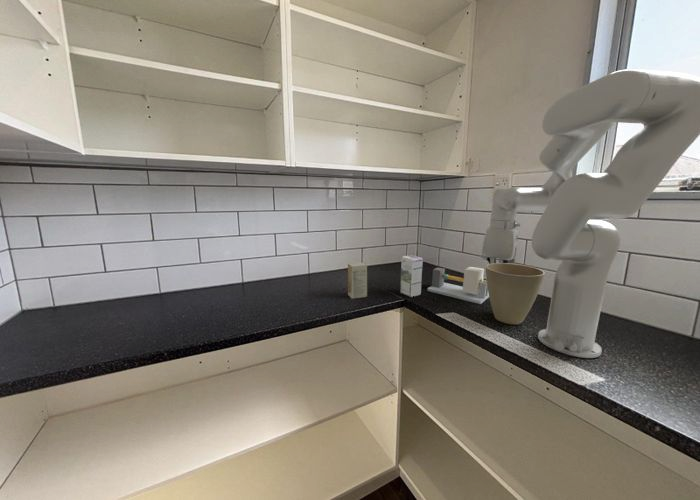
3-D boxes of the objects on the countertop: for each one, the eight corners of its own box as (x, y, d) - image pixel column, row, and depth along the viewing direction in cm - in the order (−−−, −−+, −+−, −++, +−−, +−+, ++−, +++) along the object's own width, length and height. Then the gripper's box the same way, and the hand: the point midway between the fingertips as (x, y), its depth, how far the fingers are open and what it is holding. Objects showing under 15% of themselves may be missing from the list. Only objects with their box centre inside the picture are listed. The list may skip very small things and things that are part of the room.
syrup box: (421, 294, 104) (423, 257, 101) (410, 297, 101) (412, 259, 98) (410, 290, 109) (412, 254, 106) (399, 293, 105) (401, 256, 103)
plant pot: (490, 305, 94) (495, 260, 91) (542, 319, 84) (549, 269, 81) (472, 318, 84) (478, 268, 81) (529, 336, 73) (537, 279, 70)
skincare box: (363, 293, 105) (363, 262, 102) (367, 297, 101) (368, 264, 98) (347, 294, 103) (347, 263, 100) (350, 299, 99) (351, 266, 96)
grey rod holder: (486, 305, 94) (489, 283, 93) (427, 290, 109) (428, 271, 107) (496, 296, 103) (499, 276, 101) (440, 284, 117) (441, 265, 116)
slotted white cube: (476, 294, 99) (478, 272, 97) (462, 291, 102) (464, 269, 101) (481, 290, 103) (484, 268, 102) (468, 287, 106) (470, 266, 105)
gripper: (530, 226, 91) (521, 279, 95) (482, 222, 101) (476, 270, 105) (525, 228, 85) (516, 284, 89) (475, 224, 95) (469, 274, 99)
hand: (495, 276), depth 97 cm, fingers closed
